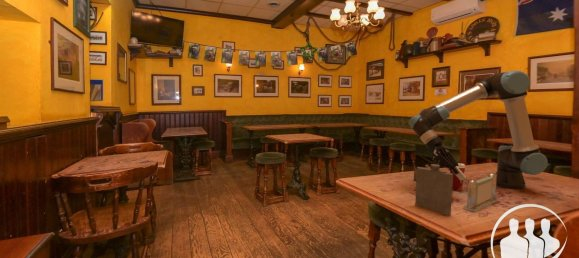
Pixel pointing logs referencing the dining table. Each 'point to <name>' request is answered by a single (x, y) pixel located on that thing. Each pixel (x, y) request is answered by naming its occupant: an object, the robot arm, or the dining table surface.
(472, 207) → the gate frame
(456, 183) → the paper cup
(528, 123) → the robot arm
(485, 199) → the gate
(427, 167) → the grey flat container
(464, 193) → the dining table surface
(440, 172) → the hip flask
